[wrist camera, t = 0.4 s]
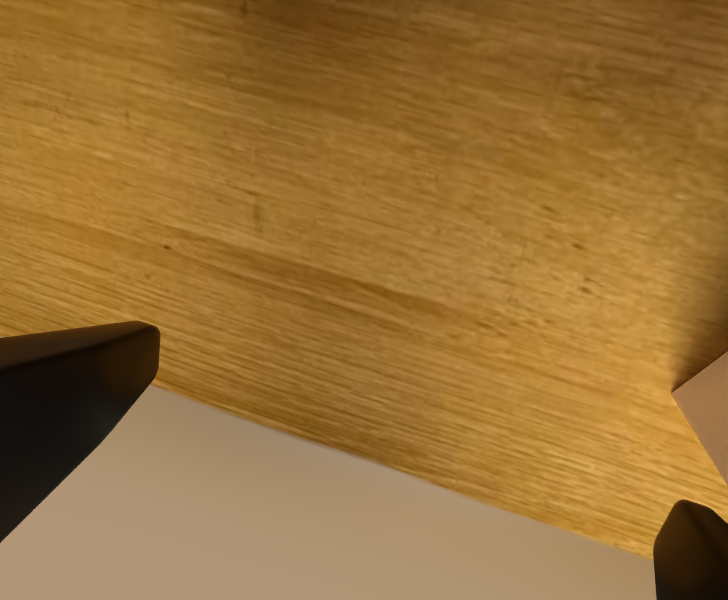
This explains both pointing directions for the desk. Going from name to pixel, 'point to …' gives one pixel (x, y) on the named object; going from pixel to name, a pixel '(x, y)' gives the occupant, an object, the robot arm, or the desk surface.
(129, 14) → the desk surface
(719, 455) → the beige rectangular block
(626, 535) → the desk surface
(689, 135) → the desk surface
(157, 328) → the robot arm
